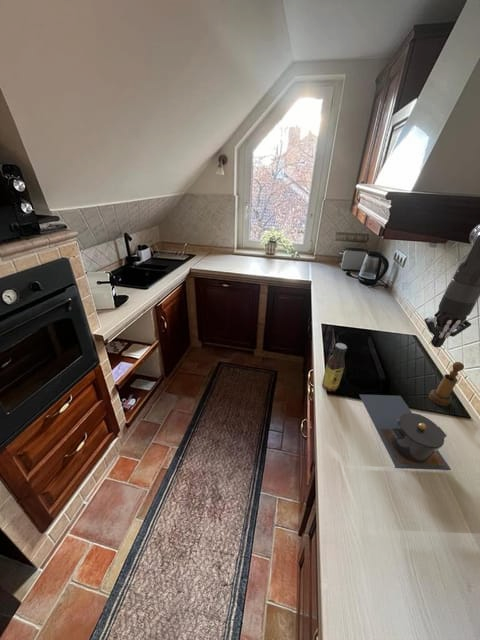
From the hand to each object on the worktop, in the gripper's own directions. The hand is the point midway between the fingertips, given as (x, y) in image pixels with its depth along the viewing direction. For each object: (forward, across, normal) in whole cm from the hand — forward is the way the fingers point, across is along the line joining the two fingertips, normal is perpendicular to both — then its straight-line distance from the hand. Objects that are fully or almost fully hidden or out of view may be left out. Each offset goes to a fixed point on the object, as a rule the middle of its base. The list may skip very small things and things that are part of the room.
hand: (435, 345), depth 81 cm
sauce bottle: (+27, -26, +8) cm, 38 cm away
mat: (+27, -8, -10) cm, 30 cm away
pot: (+27, -8, -17) cm, 33 cm away
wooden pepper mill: (+27, +14, +3) cm, 31 cm away
